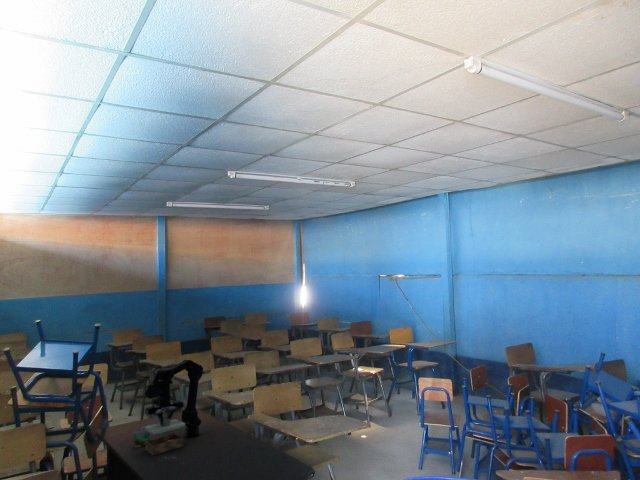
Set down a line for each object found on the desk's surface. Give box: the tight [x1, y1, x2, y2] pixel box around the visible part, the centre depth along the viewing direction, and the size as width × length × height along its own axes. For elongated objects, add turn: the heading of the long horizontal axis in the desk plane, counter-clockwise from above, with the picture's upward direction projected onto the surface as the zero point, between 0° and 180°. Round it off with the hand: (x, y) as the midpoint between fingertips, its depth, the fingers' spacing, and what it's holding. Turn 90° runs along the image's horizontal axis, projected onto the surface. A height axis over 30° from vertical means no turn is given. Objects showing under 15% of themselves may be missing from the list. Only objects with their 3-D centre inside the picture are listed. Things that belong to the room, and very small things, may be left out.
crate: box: [144, 433, 184, 456], centre depth 228 cm, size 16×11×5 cm
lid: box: [145, 416, 186, 435], centre depth 228 cm, size 17×12×6 cm
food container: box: [132, 422, 152, 449], centre depth 236 cm, size 12×6×10 cm, turn 168°
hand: (165, 424), depth 228 cm, fingers closed on lid, 3 cm apart
